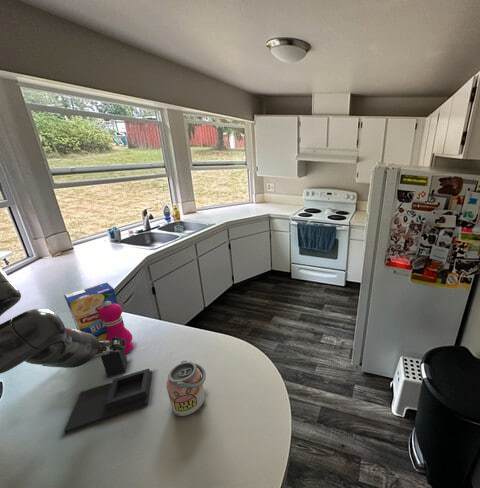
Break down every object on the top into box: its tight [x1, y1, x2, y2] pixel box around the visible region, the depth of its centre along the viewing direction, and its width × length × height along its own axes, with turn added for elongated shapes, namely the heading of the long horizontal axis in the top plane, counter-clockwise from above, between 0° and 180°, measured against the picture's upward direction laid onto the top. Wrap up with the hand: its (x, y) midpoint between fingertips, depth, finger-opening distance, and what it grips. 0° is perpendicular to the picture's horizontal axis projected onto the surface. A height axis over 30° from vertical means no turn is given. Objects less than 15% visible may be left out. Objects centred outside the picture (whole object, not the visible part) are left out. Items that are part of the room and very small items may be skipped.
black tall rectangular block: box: [99, 347, 129, 378], centre depth 78 cm, size 5×5×9 cm
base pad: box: [63, 368, 153, 434], centre depth 70 cm, size 17×12×4 cm
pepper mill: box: [98, 301, 134, 355], centre depth 84 cm, size 7×7×20 cm
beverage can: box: [166, 359, 207, 417], centre depth 68 cm, size 9×8×12 cm
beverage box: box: [63, 282, 126, 359], centre depth 86 cm, size 7×11×22 cm, turn 144°
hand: (98, 353), depth 68 cm, fingers open, 8 cm apart
